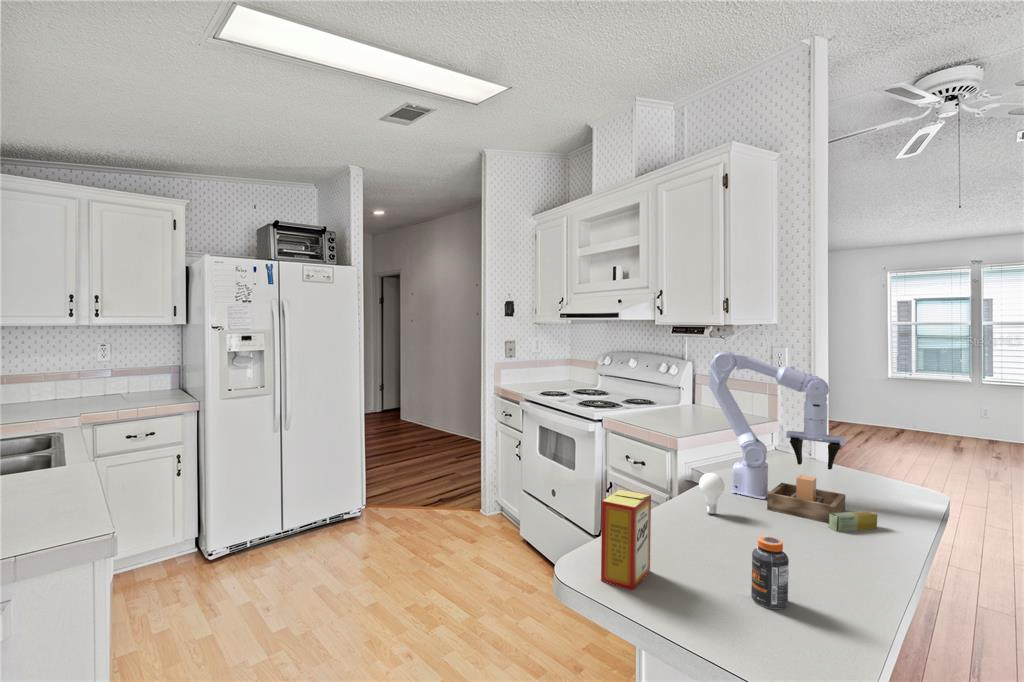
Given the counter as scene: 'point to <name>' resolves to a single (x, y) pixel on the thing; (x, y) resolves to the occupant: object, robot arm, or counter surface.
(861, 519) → the medication box
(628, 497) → the baking soda box
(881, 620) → the counter surface
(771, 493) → the walled box
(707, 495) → the lightbulb
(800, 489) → the peach plain square-edged block
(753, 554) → the pill bottle
